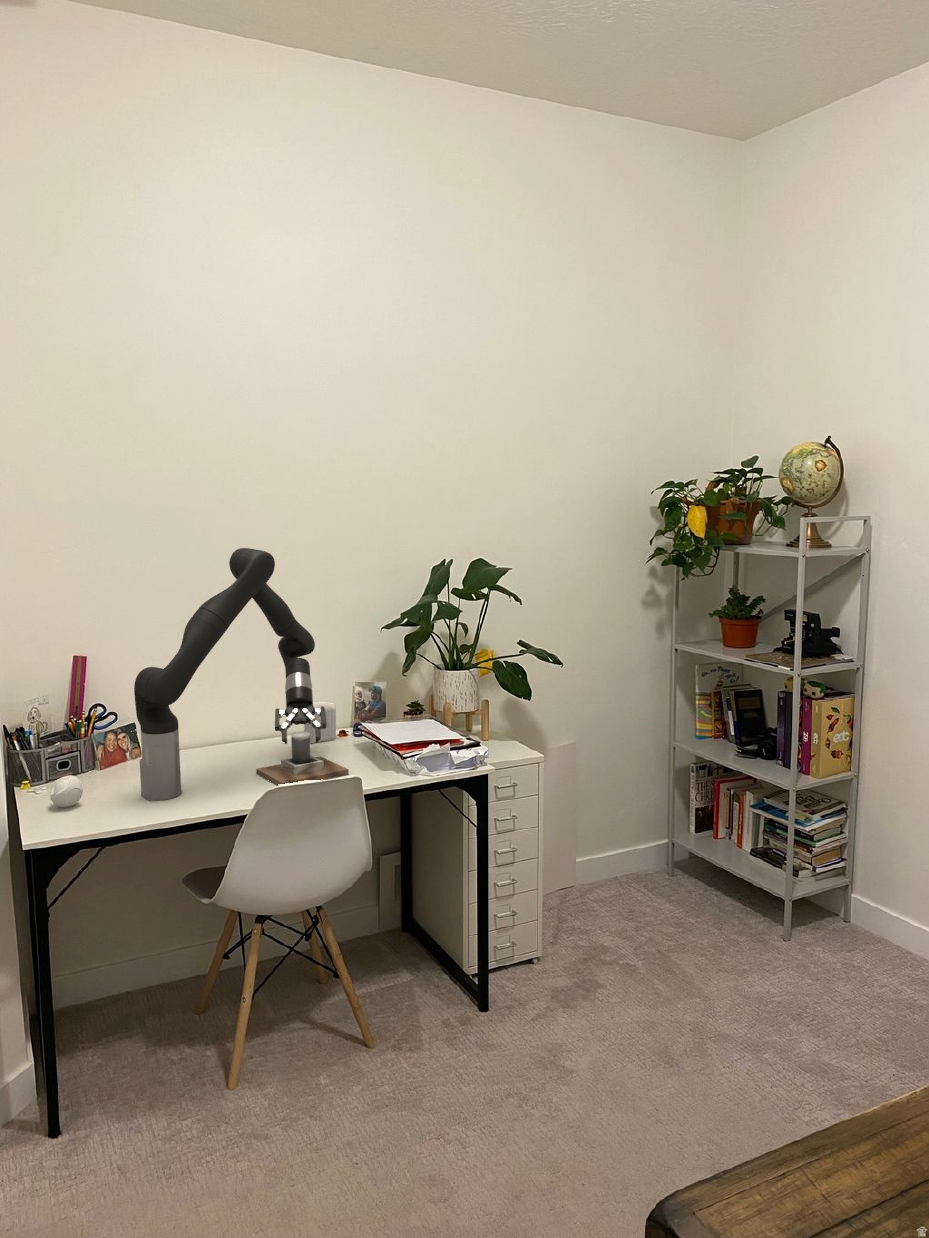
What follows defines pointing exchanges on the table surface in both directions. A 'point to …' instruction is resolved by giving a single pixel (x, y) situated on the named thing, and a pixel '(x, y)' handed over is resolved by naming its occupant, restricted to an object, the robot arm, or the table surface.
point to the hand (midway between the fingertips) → (301, 741)
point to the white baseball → (66, 791)
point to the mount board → (302, 771)
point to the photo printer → (330, 729)
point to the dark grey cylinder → (300, 747)
